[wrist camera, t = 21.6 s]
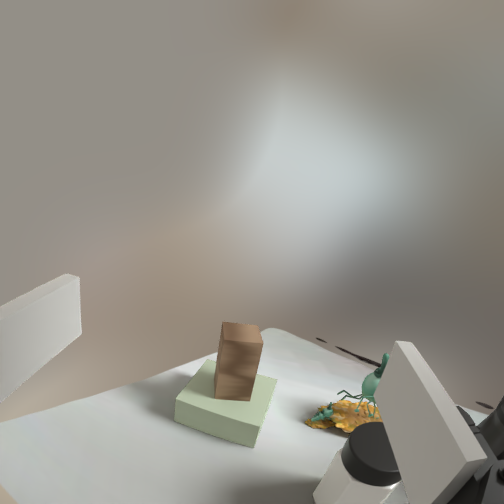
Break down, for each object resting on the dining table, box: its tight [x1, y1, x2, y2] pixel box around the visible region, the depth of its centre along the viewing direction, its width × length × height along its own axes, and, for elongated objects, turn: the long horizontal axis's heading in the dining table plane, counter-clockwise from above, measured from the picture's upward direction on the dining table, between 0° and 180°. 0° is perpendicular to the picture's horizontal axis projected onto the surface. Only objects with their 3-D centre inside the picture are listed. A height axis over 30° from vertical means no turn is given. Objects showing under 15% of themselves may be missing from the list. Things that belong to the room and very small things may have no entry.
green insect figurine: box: [305, 353, 389, 433], centre depth 44 cm, size 10×18×15 cm, turn 82°
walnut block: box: [214, 322, 263, 401], centre depth 42 cm, size 5×5×10 cm
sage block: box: [174, 359, 277, 448], centre depth 44 cm, size 12×12×5 cm
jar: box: [313, 422, 402, 504], centre depth 27 cm, size 9×8×12 cm
